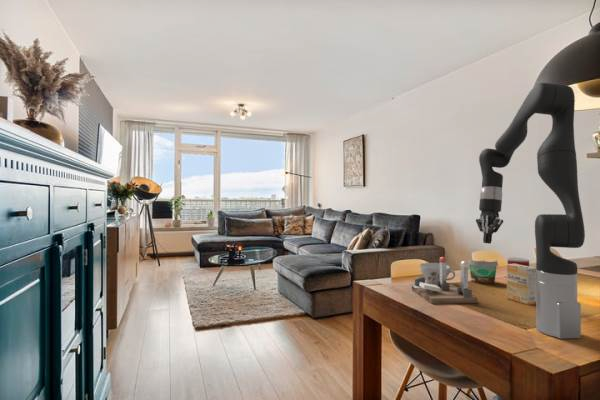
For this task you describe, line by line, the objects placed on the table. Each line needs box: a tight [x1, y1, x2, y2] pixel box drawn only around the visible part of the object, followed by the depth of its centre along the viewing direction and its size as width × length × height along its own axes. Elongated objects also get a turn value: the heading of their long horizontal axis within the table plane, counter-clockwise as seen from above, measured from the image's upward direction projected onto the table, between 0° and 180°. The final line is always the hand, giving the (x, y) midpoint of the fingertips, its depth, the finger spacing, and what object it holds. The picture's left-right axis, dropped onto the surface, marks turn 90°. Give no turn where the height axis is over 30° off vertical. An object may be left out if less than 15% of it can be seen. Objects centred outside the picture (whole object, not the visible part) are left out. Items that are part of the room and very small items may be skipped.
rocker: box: [419, 282, 441, 292], centre depth 128 cm, size 4×6×1 cm
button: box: [414, 276, 426, 286], centre depth 137 cm, size 4×4×3 cm
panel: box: [409, 281, 479, 305], centre depth 130 cm, size 20×18×5 cm
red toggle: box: [438, 256, 447, 287], centre depth 132 cm, size 3×3×12 cm
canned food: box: [507, 257, 530, 267], centre depth 147 cm, size 8×8×11 cm
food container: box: [467, 259, 499, 285], centre depth 149 cm, size 12×6×10 cm, turn 76°
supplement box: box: [506, 263, 536, 306], centre depth 122 cm, size 8×5×13 cm, turn 21°
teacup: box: [419, 262, 456, 284], centre depth 149 cm, size 15×12×8 cm
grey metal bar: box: [459, 260, 469, 294], centre depth 123 cm, size 3×3×12 cm
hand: (487, 243), depth 130 cm, fingers closed
